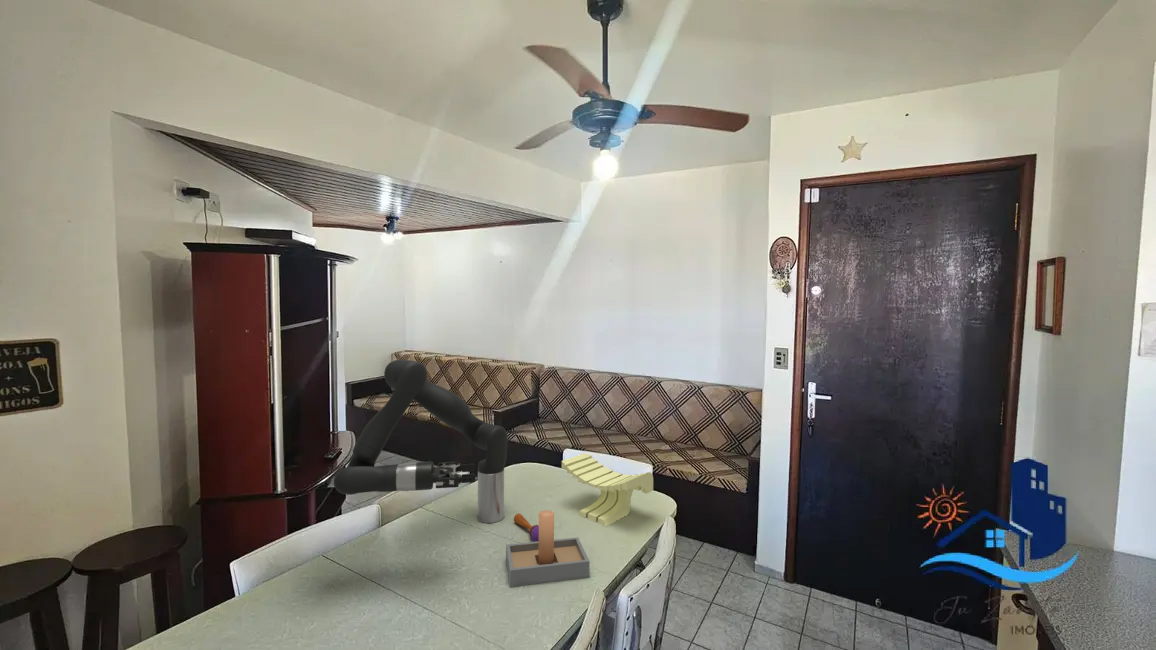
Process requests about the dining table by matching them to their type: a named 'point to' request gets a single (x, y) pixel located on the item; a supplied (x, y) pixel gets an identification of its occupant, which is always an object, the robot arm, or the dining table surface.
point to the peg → (546, 537)
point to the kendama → (533, 529)
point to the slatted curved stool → (607, 488)
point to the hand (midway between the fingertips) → (475, 472)
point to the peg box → (567, 564)
